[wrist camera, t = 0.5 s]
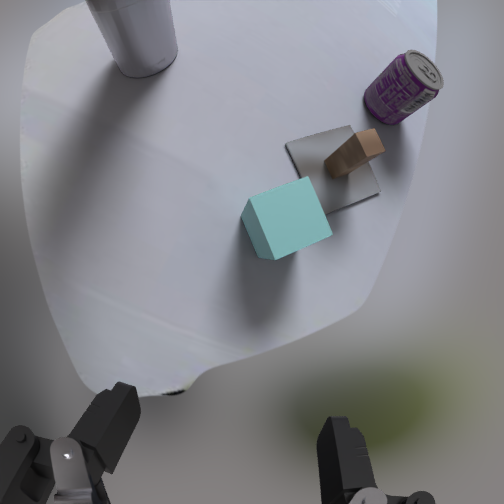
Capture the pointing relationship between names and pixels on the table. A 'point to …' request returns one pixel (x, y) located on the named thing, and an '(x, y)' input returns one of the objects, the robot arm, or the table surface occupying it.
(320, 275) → the table surface
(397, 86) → the beverage can
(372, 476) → the robot arm
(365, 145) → the post
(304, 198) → the tall teal block
